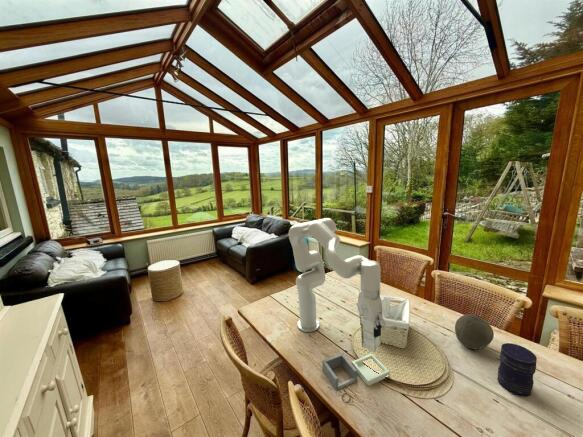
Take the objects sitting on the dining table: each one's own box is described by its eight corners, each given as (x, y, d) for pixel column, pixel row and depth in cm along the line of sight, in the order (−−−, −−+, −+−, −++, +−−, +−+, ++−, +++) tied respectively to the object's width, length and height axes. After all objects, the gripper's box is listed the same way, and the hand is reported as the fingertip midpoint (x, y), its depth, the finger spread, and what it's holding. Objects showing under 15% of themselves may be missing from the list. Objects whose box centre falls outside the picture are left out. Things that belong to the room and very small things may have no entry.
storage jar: (495, 386, 91) (499, 353, 88) (498, 370, 98) (502, 339, 95) (531, 403, 84) (537, 367, 81) (532, 385, 91) (537, 351, 88)
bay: (322, 370, 103) (322, 360, 102) (342, 362, 107) (342, 352, 106) (335, 390, 94) (335, 379, 93) (357, 380, 97) (357, 370, 96)
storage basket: (379, 316, 139) (379, 293, 136) (409, 323, 131) (410, 299, 128) (372, 342, 118) (372, 316, 115) (408, 352, 111) (409, 324, 108)
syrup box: (367, 339, 103) (365, 308, 101) (380, 344, 99) (379, 312, 97) (361, 347, 98) (359, 314, 97) (375, 352, 94) (373, 318, 93)
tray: (351, 366, 105) (351, 361, 104) (371, 358, 108) (371, 353, 108) (368, 386, 94) (368, 381, 94) (389, 376, 98) (389, 371, 98)
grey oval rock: (475, 360, 104) (478, 330, 101) (446, 339, 117) (448, 312, 114) (498, 352, 107) (502, 323, 104) (468, 332, 121) (471, 306, 118)
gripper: (349, 284, 101) (350, 321, 104) (378, 304, 85) (377, 346, 88) (363, 280, 104) (363, 316, 107) (394, 299, 88) (393, 340, 91)
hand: (370, 330), depth 98 cm, fingers closed on syrup box, 7 cm apart
